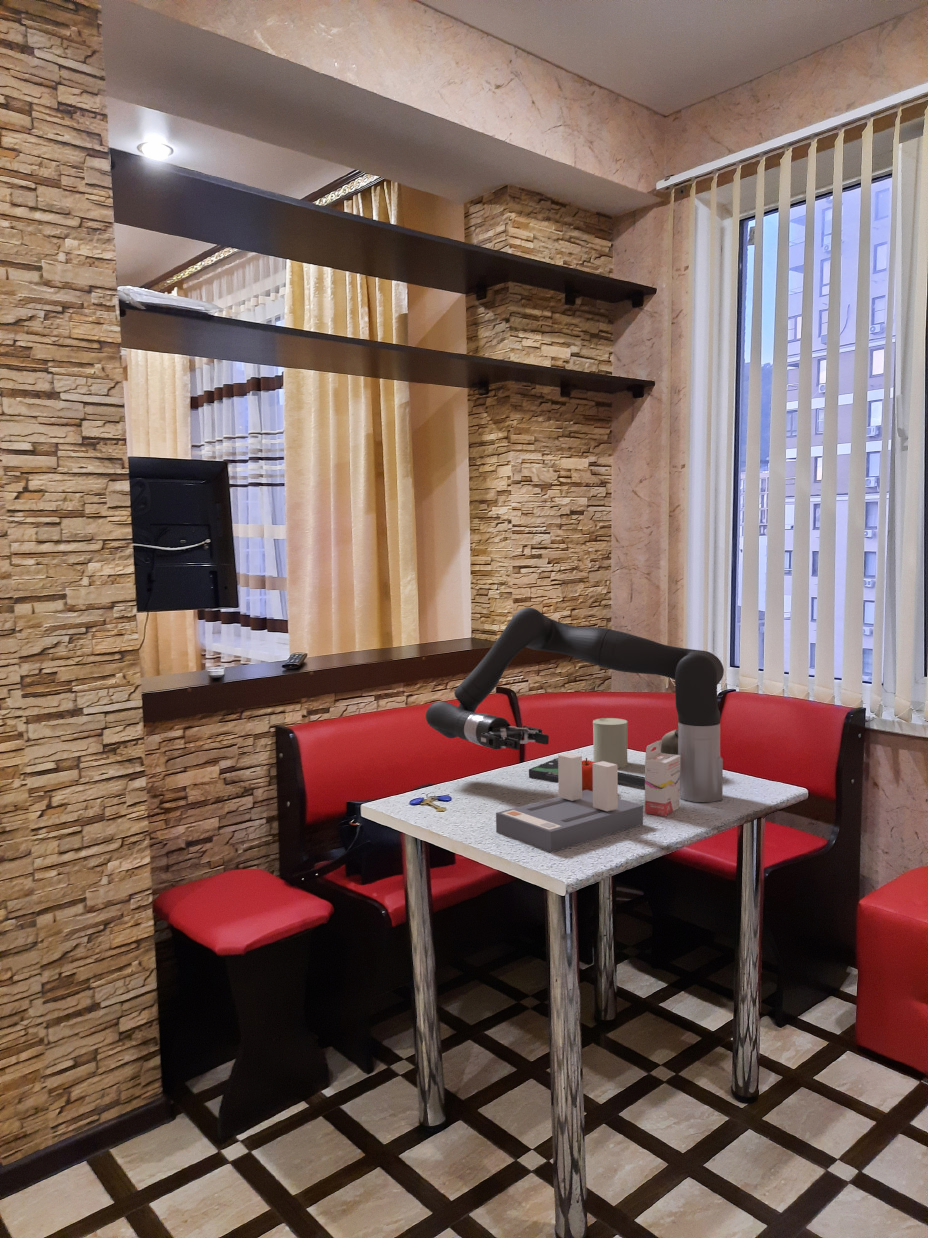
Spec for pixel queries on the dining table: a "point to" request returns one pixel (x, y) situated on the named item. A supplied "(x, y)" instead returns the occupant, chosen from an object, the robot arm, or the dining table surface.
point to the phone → (631, 781)
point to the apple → (587, 775)
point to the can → (610, 741)
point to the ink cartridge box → (661, 781)
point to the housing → (566, 821)
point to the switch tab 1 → (570, 776)
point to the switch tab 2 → (605, 786)
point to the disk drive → (545, 771)
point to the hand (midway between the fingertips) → (533, 742)
